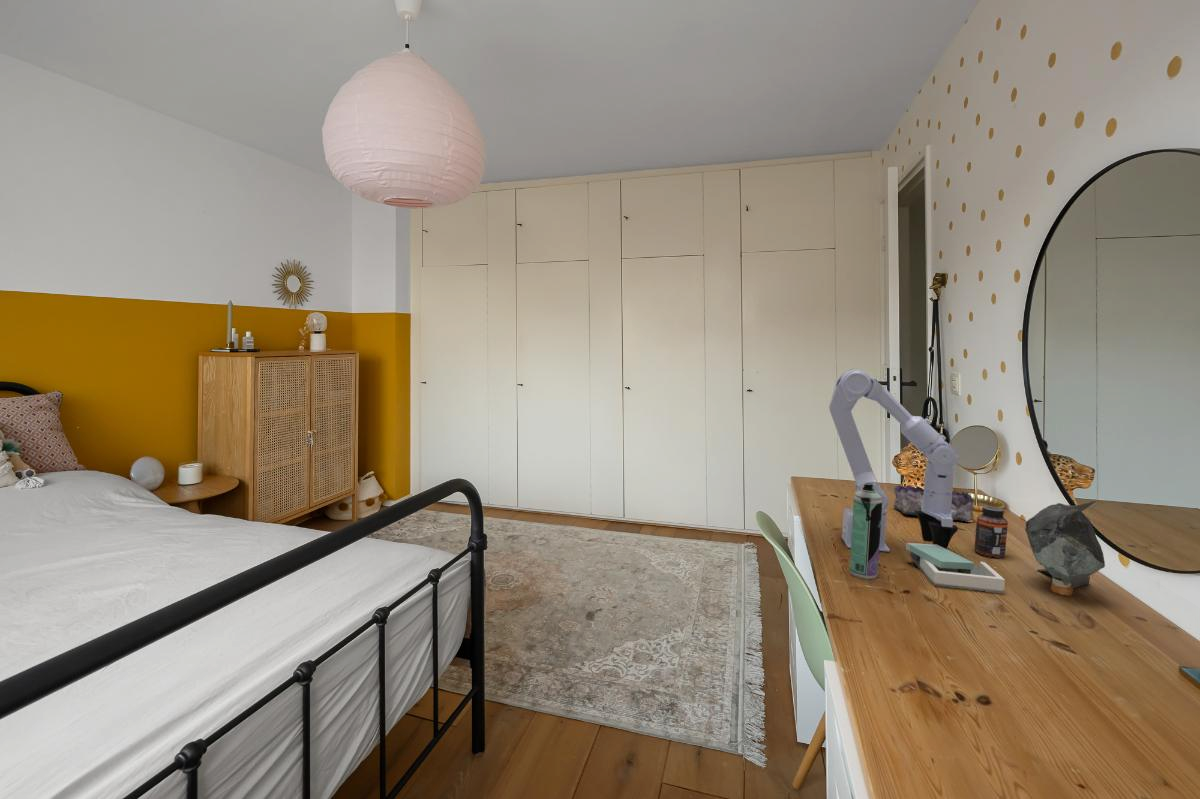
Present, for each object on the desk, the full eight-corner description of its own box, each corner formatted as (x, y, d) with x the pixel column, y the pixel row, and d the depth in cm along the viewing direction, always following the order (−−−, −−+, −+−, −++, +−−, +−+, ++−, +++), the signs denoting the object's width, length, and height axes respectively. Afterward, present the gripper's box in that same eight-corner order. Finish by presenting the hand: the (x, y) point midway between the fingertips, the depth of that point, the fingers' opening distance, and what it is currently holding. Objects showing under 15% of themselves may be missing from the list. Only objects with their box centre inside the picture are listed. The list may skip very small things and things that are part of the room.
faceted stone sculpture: (998, 578, 112) (1006, 496, 110) (1044, 568, 118) (1051, 490, 116) (1079, 609, 99) (1088, 517, 97) (1126, 596, 104) (1136, 508, 103)
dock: (933, 586, 108) (934, 572, 108) (911, 559, 122) (912, 546, 122) (1003, 594, 105) (1004, 579, 105) (972, 565, 119) (973, 552, 119)
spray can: (881, 580, 111) (887, 487, 109) (853, 577, 112) (858, 486, 110) (873, 569, 116) (878, 481, 114) (846, 567, 117) (851, 479, 115)
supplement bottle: (1005, 561, 122) (1009, 513, 121) (973, 554, 125) (977, 508, 124) (1004, 553, 126) (1008, 507, 125) (974, 547, 130) (978, 503, 129)
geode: (968, 515, 156) (973, 484, 154) (976, 532, 146) (982, 499, 144) (891, 503, 165) (895, 473, 163) (893, 518, 155) (897, 487, 152)
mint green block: (938, 576, 110) (940, 561, 110) (903, 556, 120) (905, 542, 120) (972, 577, 111) (975, 563, 110) (935, 557, 121) (937, 544, 121)
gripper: (970, 501, 116) (965, 560, 118) (945, 485, 130) (941, 537, 132) (934, 498, 118) (929, 556, 120) (913, 482, 132) (909, 535, 134)
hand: (933, 546), depth 126 cm, fingers open, 7 cm apart
